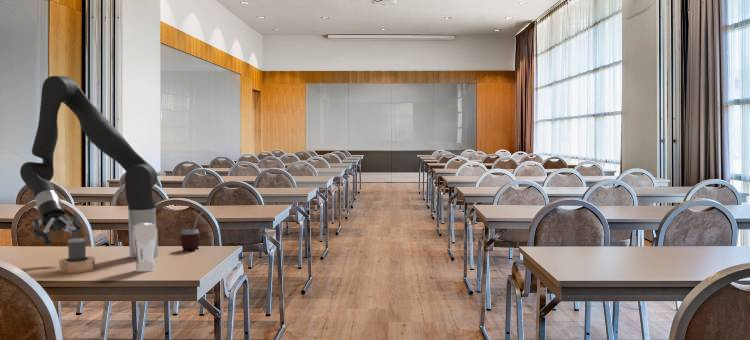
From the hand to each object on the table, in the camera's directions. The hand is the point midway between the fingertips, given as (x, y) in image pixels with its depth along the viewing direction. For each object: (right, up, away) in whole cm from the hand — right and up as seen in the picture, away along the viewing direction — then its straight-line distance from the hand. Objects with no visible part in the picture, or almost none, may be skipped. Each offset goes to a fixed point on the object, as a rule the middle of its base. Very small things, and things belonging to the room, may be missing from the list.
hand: (63, 242), depth 208 cm
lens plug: (+9, -8, -8) cm, 14 cm away
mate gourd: (+35, -6, +27) cm, 45 cm away
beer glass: (+31, -8, -9) cm, 34 cm away
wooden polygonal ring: (+9, -8, -8) cm, 14 cm away
